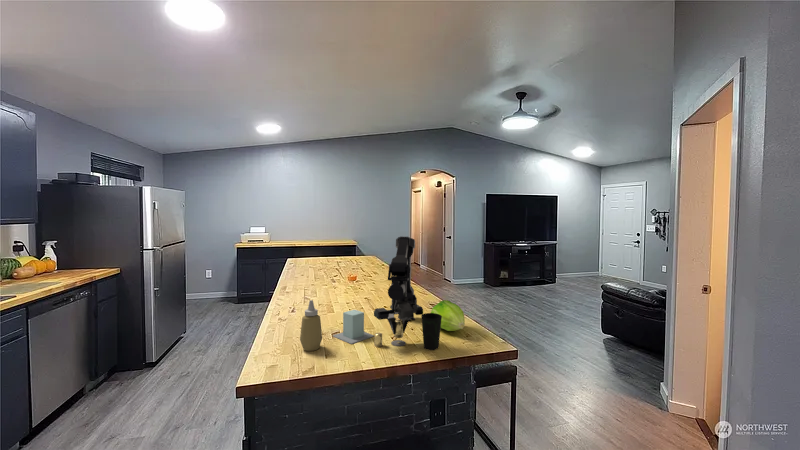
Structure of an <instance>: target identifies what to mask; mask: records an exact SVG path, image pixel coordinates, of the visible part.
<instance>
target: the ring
mask: <svg viewBox="0 0 800 450" xmlns="http://www.w3.org/2000/svg"><path fill="white" fill-rule="evenodd" d="M390 344H391V345H392V346H393V347H403V346H405V345H406V344H407V343H406V341H405V340H401V339H395V340H393V341H392V340H391V343H390Z"/></svg>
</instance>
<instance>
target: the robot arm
mask: <svg viewBox="0 0 800 450" xmlns="http://www.w3.org/2000/svg"><path fill="white" fill-rule="evenodd" d="M395 249H396V254H395V256H394V257H393V258H392V259H391V262H390V263H389V265H388V273H387V274H388V275H387V281H391V284H390V286H389V287H388V290H387V295H388V297H389V298H390V299H391V305H390V309H386V308H385V307H378V308H375V309H374V311H373V316H374V317H375V318H376V319H377V320H380V321H381V320H387V322H388V323H389V327H390V328H391V330H392V331H391V332H392V334H393V335H394V334H395V321H396V320H397V318H398V320H402V321H403V334H404V333H405V331H406V329H407V326H408V324H409V322H410V321H414V320H416V318H415V316H422V315H423V314H424V308H423V307H422V306H421V305H419V304H418V302H417V301H418V300H417V297H416V294H415V289H414V288H413V286H412V285H411V283H412V282H411V270H412V267H411V266H412V265H411V262H412V261H411V257H412V255H413V254H414V250H415V249H416V240H415V239H414V238H412V237H409V236H398V237H397V238H396V239H395ZM395 315H398V316H397V318H396V317H395Z"/></svg>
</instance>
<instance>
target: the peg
mask: <svg viewBox="0 0 800 450" xmlns="http://www.w3.org/2000/svg"><path fill="white" fill-rule="evenodd" d="M393 336H394V338H395V339H402V338H404V333H403V321H402V320H401V319H396V321H395V334H393Z"/></svg>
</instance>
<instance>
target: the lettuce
mask: <svg viewBox="0 0 800 450" xmlns="http://www.w3.org/2000/svg"><path fill="white" fill-rule="evenodd" d="M430 313H436V314H439V315H441V316H442V319H441V329H442V330H444V331H447V332H455V331H458V330H463V329H464V328H465V314H464V311H463V309H462V308H461V307H460V306H459V305H458V304H456V303H454V302H451V301H450V300H447V299H444V300H439V302H438V303H437V304H435V305H434V306H433V307H432V309H431V311H430ZM441 329H440V330H441Z"/></svg>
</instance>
